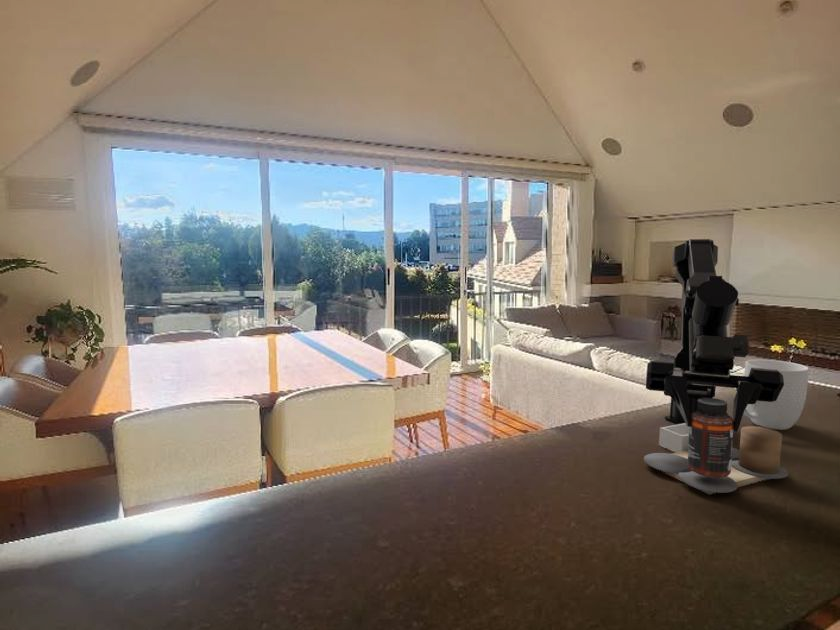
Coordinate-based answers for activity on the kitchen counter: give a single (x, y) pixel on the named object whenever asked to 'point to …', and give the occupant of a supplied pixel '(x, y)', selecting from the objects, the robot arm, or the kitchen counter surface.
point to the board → (747, 463)
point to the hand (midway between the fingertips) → (712, 428)
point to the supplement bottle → (710, 439)
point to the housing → (674, 437)
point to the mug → (780, 395)
